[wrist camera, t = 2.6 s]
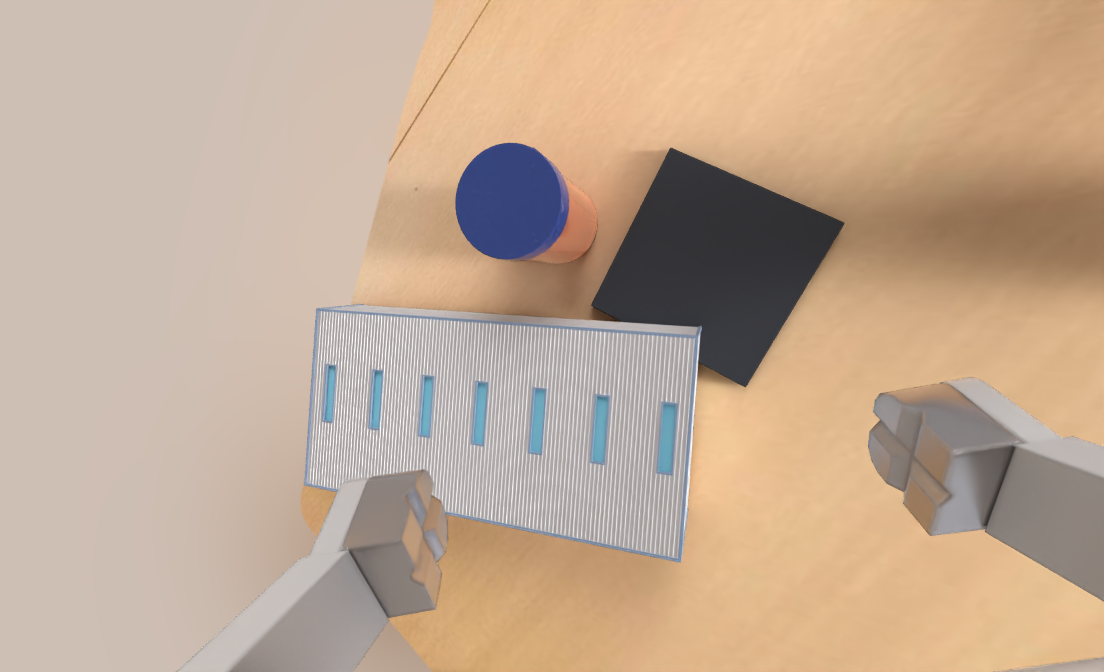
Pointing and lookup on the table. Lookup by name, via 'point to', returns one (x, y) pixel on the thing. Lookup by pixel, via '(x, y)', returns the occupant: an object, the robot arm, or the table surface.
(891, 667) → the table surface
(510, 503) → the warehouse
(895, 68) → the table surface
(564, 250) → the jam jar
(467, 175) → the jam lid
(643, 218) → the mat
